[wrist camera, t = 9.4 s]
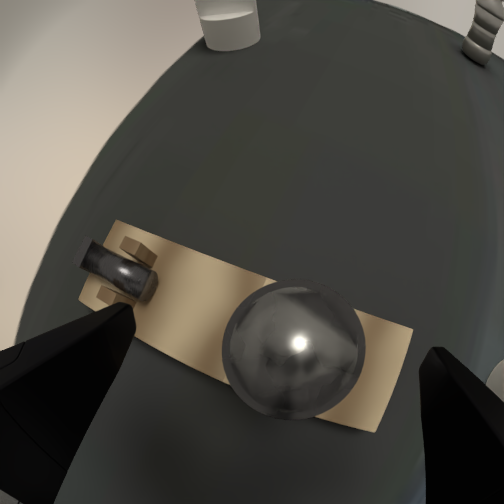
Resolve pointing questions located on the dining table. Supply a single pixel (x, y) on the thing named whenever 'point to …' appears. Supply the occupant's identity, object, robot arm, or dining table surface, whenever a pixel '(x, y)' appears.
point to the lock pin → (116, 269)
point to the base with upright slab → (229, 23)
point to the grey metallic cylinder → (293, 349)
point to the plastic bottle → (483, 30)
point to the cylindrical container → (497, 380)
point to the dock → (220, 311)
